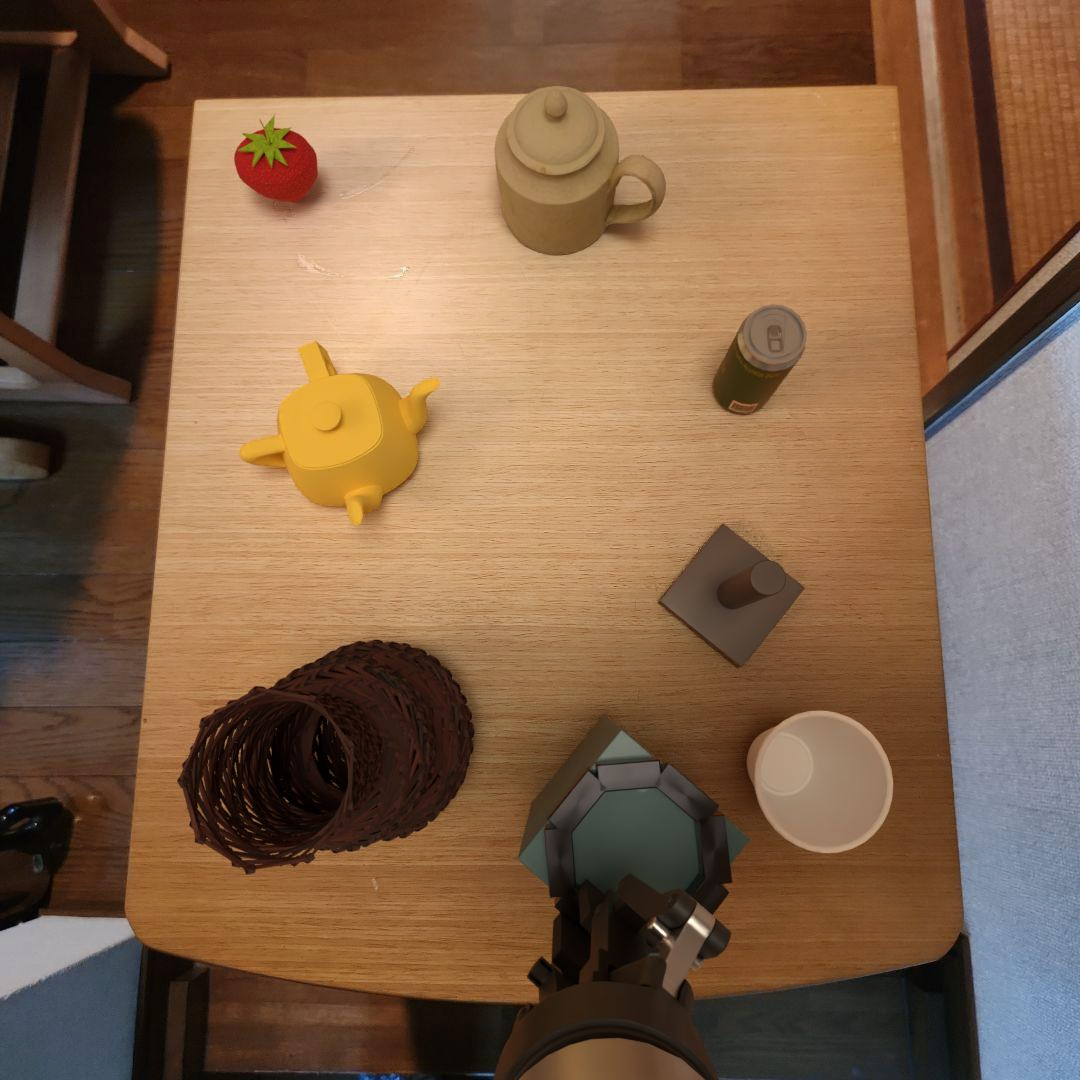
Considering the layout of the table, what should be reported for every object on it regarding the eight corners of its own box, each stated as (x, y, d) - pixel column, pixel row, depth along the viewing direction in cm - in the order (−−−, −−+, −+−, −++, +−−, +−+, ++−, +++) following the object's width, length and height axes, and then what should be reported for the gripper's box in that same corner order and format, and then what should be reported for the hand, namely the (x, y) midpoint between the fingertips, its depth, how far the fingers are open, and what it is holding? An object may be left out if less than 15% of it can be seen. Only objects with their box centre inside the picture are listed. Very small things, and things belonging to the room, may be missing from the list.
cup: (857, 734, 67) (914, 746, 56) (814, 844, 65) (864, 878, 55) (749, 685, 68) (785, 687, 57) (705, 792, 66) (733, 815, 56)
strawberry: (258, 174, 78) (213, 101, 68) (333, 167, 78) (299, 94, 68) (258, 228, 77) (213, 162, 67) (334, 221, 76) (300, 154, 67)
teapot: (385, 546, 71) (356, 526, 61) (260, 480, 72) (213, 450, 62) (457, 417, 73) (441, 378, 63) (334, 356, 74) (299, 308, 64)
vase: (484, 643, 69) (426, 622, 39) (480, 824, 66) (415, 946, 37) (313, 641, 70) (129, 619, 40) (303, 821, 67) (97, 939, 37)
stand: (695, 790, 66) (750, 839, 47) (621, 884, 65) (646, 975, 46) (604, 712, 68) (621, 729, 48) (530, 804, 67) (517, 858, 47)
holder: (800, 589, 69) (856, 569, 56) (738, 668, 68) (780, 666, 55) (719, 526, 70) (756, 491, 57) (657, 602, 69) (679, 585, 56)
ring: (759, 839, 47) (766, 845, 45) (648, 984, 45) (651, 995, 44) (622, 722, 48) (624, 724, 46) (511, 860, 47) (509, 866, 45)
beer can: (771, 415, 72) (812, 365, 60) (713, 417, 72) (742, 367, 60) (767, 360, 73) (807, 300, 61) (709, 362, 73) (738, 302, 61)
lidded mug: (652, 151, 77) (673, 27, 62) (655, 255, 75) (677, 152, 60) (501, 154, 77) (487, 32, 62) (501, 257, 75) (486, 156, 60)
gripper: (668, 872, 23) (617, 773, 47) (341, 1293, 22) (457, 973, 45) (874, 1051, 22) (716, 859, 46) (547, 1507, 21) (556, 1066, 44)
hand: (587, 915), depth 45 cm, fingers closed on ring, 2 cm apart
